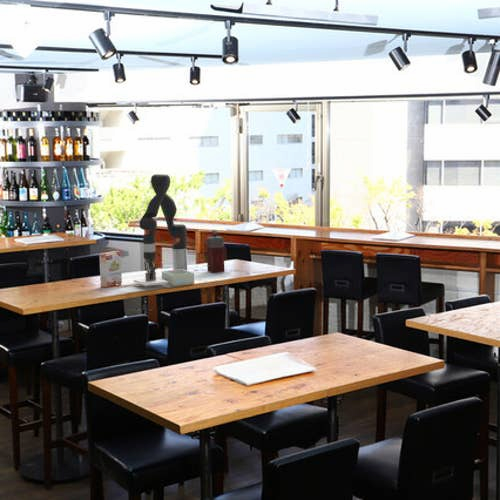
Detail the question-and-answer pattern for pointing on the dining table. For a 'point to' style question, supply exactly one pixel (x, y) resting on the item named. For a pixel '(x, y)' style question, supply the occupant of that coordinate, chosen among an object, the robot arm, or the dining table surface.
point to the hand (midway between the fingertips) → (150, 278)
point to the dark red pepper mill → (215, 253)
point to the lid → (150, 280)
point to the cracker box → (110, 268)
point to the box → (178, 277)
